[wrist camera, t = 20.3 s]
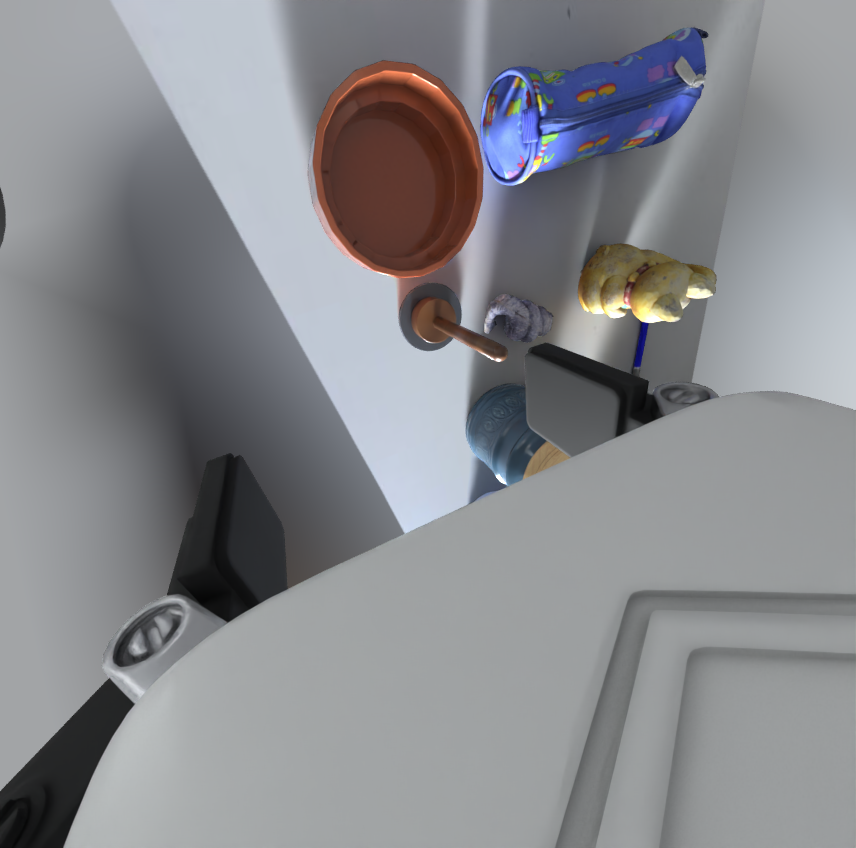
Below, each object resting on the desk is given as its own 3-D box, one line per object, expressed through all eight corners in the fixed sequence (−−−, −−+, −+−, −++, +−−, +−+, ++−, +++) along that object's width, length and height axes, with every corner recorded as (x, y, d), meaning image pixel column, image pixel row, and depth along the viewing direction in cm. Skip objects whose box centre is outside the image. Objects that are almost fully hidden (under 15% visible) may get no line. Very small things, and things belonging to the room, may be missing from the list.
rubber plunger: (403, 326, 41) (465, 368, 28) (425, 288, 40) (500, 312, 27) (435, 346, 44) (506, 393, 30) (456, 310, 43) (540, 343, 29)
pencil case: (644, 51, 38) (741, 1, 30) (637, 148, 43) (720, 127, 35) (467, 92, 34) (525, 46, 26) (480, 194, 38) (533, 182, 30)
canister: (520, 363, 50) (618, 413, 36) (545, 423, 58) (636, 485, 43) (448, 417, 50) (519, 490, 35) (484, 471, 57) (554, 549, 43)
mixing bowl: (279, 211, 33) (280, 206, 28) (357, 40, 29) (373, 0, 24) (409, 299, 41) (427, 307, 36) (481, 172, 37) (512, 161, 32)
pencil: (634, 376, 61) (639, 378, 60) (630, 377, 60) (635, 379, 60) (653, 272, 52) (659, 272, 51) (649, 273, 52) (655, 274, 51)
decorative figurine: (576, 321, 51) (673, 347, 38) (556, 273, 46) (659, 285, 34) (626, 276, 51) (740, 288, 38) (611, 224, 46) (735, 218, 33)
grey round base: (386, 330, 41) (387, 331, 41) (421, 268, 40) (423, 268, 39) (437, 360, 45) (439, 361, 45) (471, 305, 44) (473, 306, 43)
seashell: (472, 314, 46) (532, 320, 50) (484, 347, 44) (545, 350, 48) (493, 283, 41) (557, 292, 45) (507, 318, 39) (572, 324, 43)
